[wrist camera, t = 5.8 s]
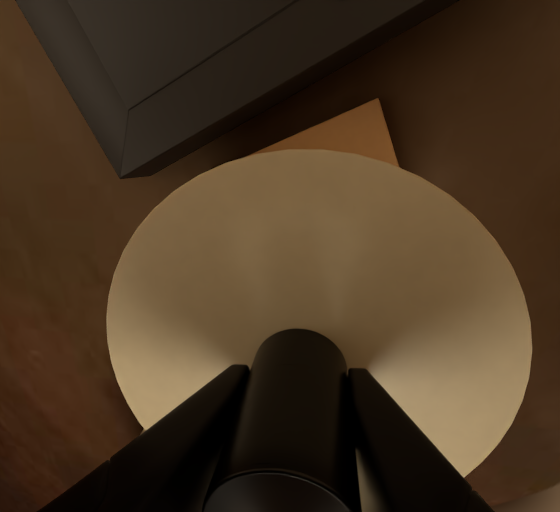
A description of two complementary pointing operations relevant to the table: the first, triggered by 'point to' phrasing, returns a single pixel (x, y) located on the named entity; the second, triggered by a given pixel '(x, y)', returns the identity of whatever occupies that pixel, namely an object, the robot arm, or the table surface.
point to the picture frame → (200, 62)
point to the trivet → (346, 135)
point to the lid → (318, 319)
